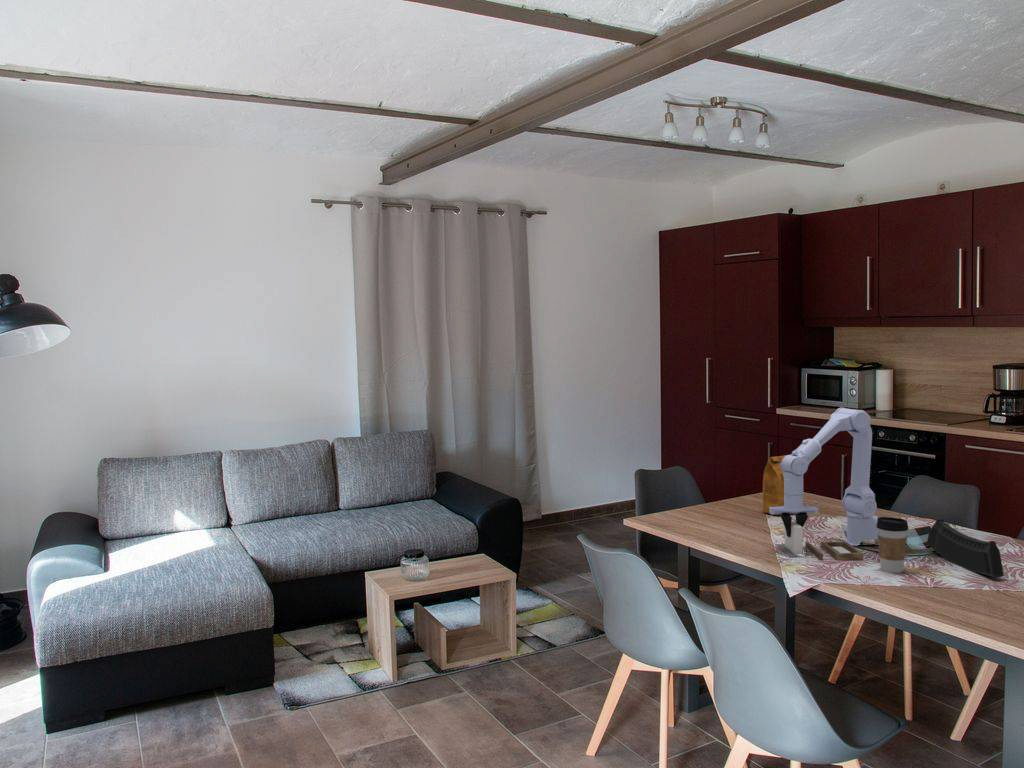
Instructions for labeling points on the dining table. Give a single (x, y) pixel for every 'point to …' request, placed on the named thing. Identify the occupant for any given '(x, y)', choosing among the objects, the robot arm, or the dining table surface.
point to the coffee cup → (892, 543)
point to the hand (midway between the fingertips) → (793, 536)
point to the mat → (788, 552)
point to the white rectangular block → (795, 539)
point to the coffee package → (773, 484)
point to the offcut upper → (841, 550)
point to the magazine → (965, 550)
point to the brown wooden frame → (828, 548)
